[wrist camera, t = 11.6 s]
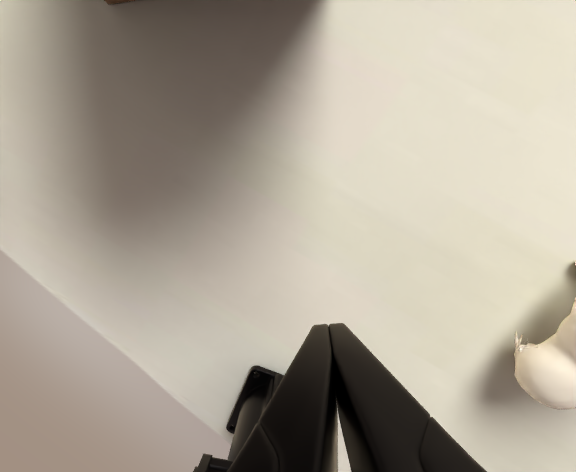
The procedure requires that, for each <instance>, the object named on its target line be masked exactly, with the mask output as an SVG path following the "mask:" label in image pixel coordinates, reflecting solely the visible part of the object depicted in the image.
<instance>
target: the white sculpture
mask: <svg viewBox="0 0 576 472" xmlns="http://www.w3.org/2000/svg"><path fill="white" fill-rule="evenodd" d="M575 265H576V262H575ZM516 332H517V331H516ZM522 335H523V334H522ZM522 335H521V337H520V339H519V340H518V339H517V333H516V334H515V348H516V352H515V353H514V357H515V367H516V368H515V377H516V379H517V381H518V383H519V384H520V386H521V387H522V388H523V389H524V390H525V391H526V392H527V393H528V394H529V395H530V396H531V397H532V398H534V399H535V400H537V401H538V402H540V403H542V404H544V405H546V406H548V407H551V408H555V409H572V408H576V298H575V301H574V304H573V306H572V310H571V313H570V315H568V316H567V317H566V318H565V319H564V320H563V321H562V322H561V324H560V325H559V327H558V330H557V333H555V334H554V335H552V336H551V337H550V338H548V339H547V340H546V341H544V342H542V343H540V344H538V345H535V344H531V343H529V342H528V343H529V344H527V345H520V343H521V339H522ZM528 338H529V337H528ZM526 341H527V340H526ZM523 342H524V341H523ZM525 343H526V342H525Z"/></svg>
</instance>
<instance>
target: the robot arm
mask: <svg viewBox="0 0 576 472" xmlns="http://www.w3.org/2000/svg"><path fill="white" fill-rule="evenodd" d="M254 372H258V374H255V373H254ZM336 400H337V402H336ZM337 408H338V414H339V419H340V424H341V428H342V433H343V437H344V441H345V446H346V450H347V454H348V459H349V463H350V467H351V472H487V471H486V470H485V469H483V468H482V467H481V466H480V465H479V464H478V463H477V462H476V461H475V460H474V459H473V458H472V457H471V456H470V455H469V454H468V453H467V452H466V451H465V450H464V449H463V448H462V447H461V446H460V445H459V444H458V443H457V442H456V441H455V440H454V439H453V438H452V437H451V436H450V435H449V434H448V433H447V432H446V431H445V430H444V429H443V428H442V427H441V426H440V425H439V423H438V422H437V421H436V420H435V419H434V418H433V417H430V414H429V413H428V412H427V411H426V410H425V409H424V408H423V407H422V406H421V405H420V404H419V402H418V401H417V400H416V399H415V398H414V397H413V396H412V395H411V394H410V393H409V392H408V391H407V390H406V389H405V388H404V387H403V386H402V385H401V383H400V382H399V381H398V380H397V379H396V378H395V377H394V376H393V375H392V374H391V373H390V372H389V371H388V370H387V369H386V368H385V367H384V365H383V364H382V363H381V362H380V361H379V360H378V359H377V358H376V357H375V356H374V355H373V354H372V353H371V352H370V351H369V350H368V349H367V348H366V346H365V345H364V344H363V343H362V342H361V341H360V340H359V339H358V338H357V337H356V336H355V335H354V334H353V333H352V332H351V331H350V330H349V328H348V327H347V326H346V325H345V324H343V323H336V324H330V325H329V326H328V325H327V324H321V325H314V326H313V327H312V329H311V330H310V332H309V334H308V336H307V337H306V339H305V341H304V343H303V344H302V346H301V348H300V349H299V351H298V353H297V355H296V356H295V358H294V360H293V362H292V363H291V365H290V367H289V368H288V370H287V372H286V374H285V375H281V374H279V373H276V372H273V371H271V370H268V369H265V368H263V367H260V366H253V367H252V368H251V369H250V372H249V374H248V376H247V379H246V381H245V383H244V385H243V388H242V390H241V392H240V395H239V397H238V399H237V402H236V404H235V406H234V409H233V411H232V413H231V416H230V418H229V420H228V423H227V427H226V428H227V430H228V432H230V433H233V434H234V436H233V440H232V444H231V449H230V453H229V456H228V460H224V459H219V458H214V457H212V455H208V454H203V456H202V459H201V461H200V463H199V466H198V467H195V469H194V471H193V472H338V416H337Z"/></svg>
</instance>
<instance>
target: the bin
mask: <svg viewBox="0 0 576 472" xmlns="http://www.w3.org/2000/svg"><path fill="white" fill-rule="evenodd" d="M104 1H105V2H106V3H107V4H116V3H122V2H129V1H135V0H104Z"/></svg>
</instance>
